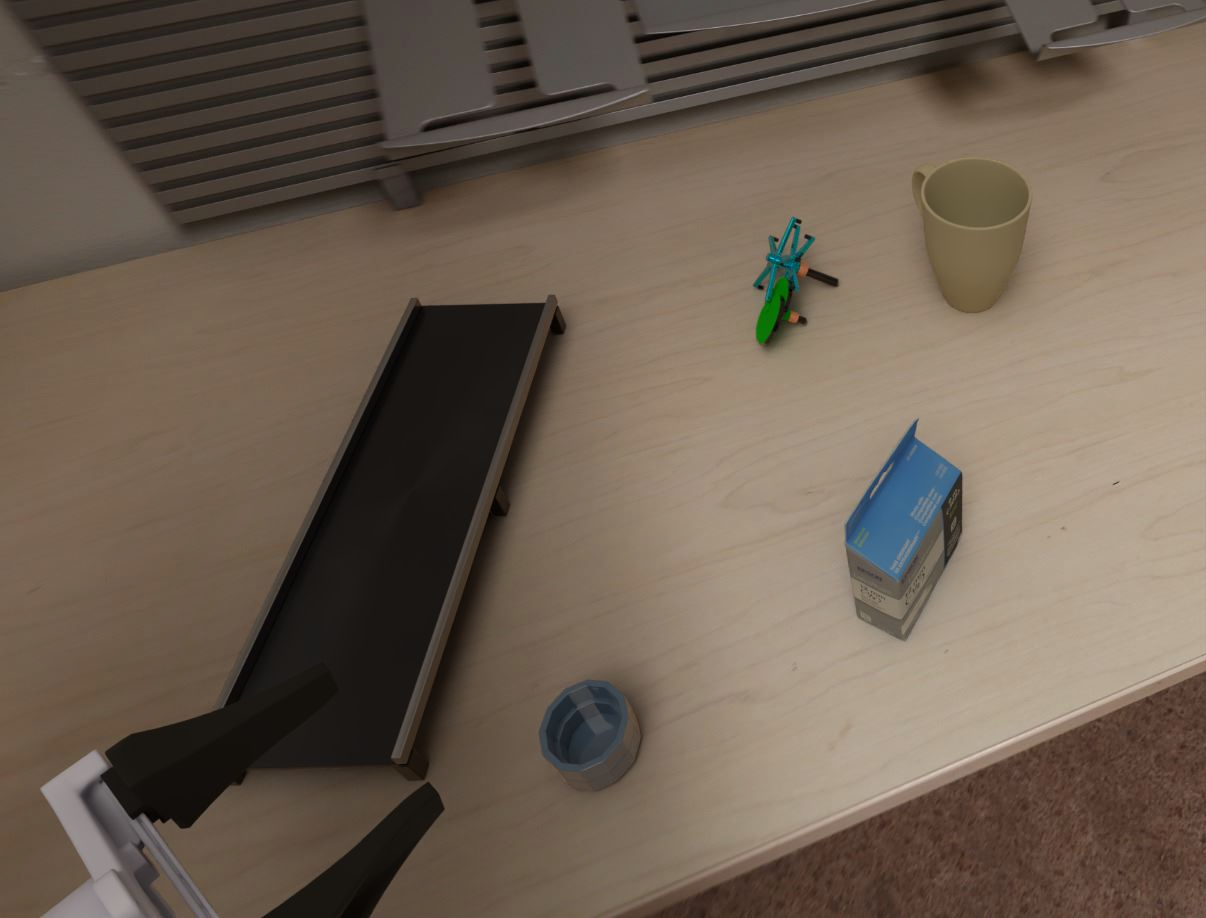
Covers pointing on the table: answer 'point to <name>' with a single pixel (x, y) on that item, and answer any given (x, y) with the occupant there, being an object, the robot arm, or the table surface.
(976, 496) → the table surface
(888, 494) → the label tape box
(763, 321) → the stick construction toy
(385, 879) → the robot arm
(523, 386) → the conveyor belt
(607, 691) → the cup
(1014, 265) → the mug
